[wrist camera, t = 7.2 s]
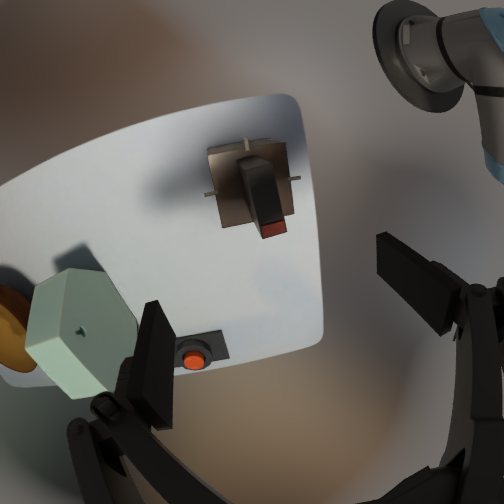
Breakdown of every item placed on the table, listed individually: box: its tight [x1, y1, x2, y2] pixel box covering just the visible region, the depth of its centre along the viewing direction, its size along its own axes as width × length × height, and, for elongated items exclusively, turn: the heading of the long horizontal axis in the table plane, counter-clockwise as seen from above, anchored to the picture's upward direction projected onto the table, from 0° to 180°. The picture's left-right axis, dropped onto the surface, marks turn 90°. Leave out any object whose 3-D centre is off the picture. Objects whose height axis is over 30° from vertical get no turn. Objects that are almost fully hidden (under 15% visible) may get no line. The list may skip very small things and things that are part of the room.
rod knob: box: [236, 155, 287, 239], centre depth 25 cm, size 6×2×7 cm, turn 14°
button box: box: [174, 330, 230, 370], centre depth 48 cm, size 12×7×2 cm, turn 99°
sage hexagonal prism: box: [25, 268, 137, 399], centre depth 35 cm, size 17×8×21 cm
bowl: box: [0, 285, 37, 373], centre depth 36 cm, size 18×18×10 cm
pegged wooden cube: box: [204, 137, 301, 228], centre depth 33 cm, size 10×10×10 cm
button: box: [184, 350, 204, 370], centre depth 47 cm, size 4×4×2 cm
